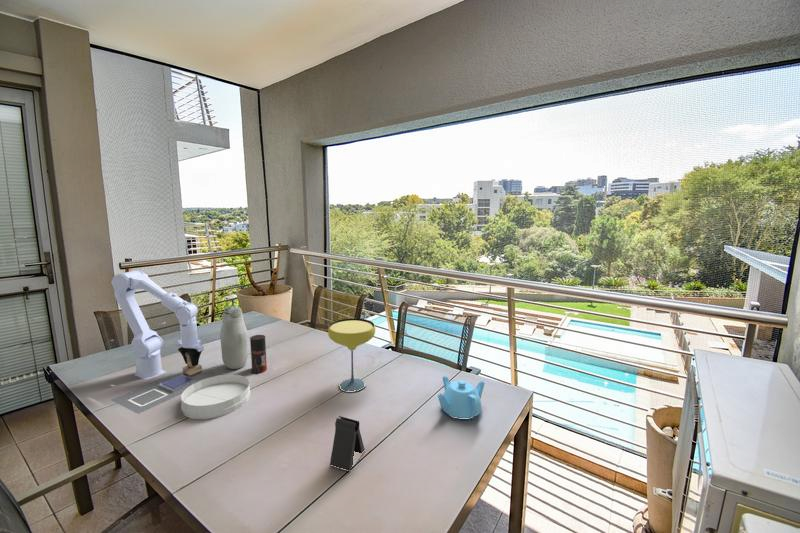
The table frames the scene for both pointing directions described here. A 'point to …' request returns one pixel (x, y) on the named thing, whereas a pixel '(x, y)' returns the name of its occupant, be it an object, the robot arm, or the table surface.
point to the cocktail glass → (351, 342)
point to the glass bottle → (234, 338)
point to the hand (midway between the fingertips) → (191, 364)
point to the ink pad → (177, 383)
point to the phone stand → (346, 442)
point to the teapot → (461, 398)
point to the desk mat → (154, 393)
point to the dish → (215, 396)
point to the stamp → (191, 368)
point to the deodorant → (258, 353)
